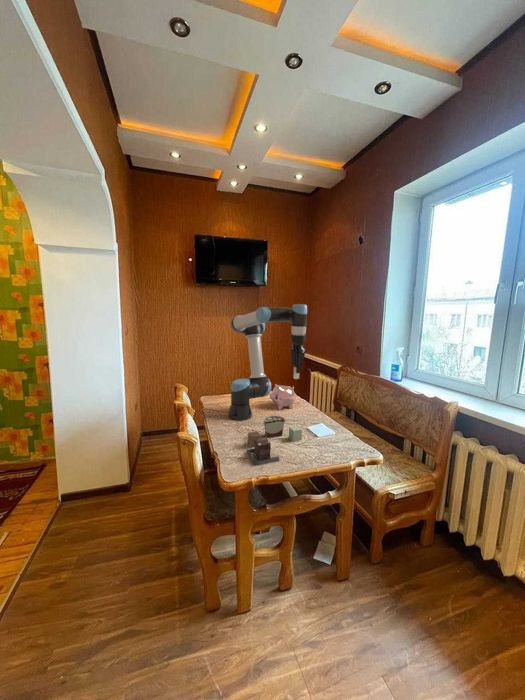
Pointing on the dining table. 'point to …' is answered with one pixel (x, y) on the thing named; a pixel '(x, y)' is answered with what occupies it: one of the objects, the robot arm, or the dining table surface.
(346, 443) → the dining table surface
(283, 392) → the piggy bank
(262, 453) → the box
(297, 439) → the sage green block
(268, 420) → the food container
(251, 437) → the walnut block
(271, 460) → the corral
